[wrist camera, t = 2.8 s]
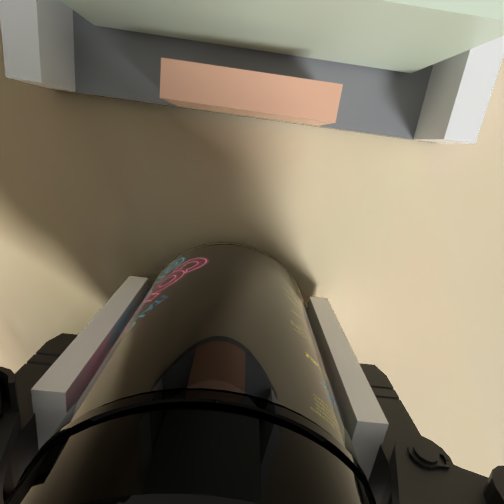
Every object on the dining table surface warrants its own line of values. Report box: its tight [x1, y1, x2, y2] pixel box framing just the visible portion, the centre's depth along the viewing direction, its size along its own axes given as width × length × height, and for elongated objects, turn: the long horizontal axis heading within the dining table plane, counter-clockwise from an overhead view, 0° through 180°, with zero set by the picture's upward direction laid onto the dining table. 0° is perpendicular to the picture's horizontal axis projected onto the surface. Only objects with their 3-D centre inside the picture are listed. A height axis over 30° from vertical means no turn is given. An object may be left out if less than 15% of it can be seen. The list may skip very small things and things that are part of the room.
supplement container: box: [4, 243, 376, 504], centre depth 10 cm, size 7×7×10 cm
